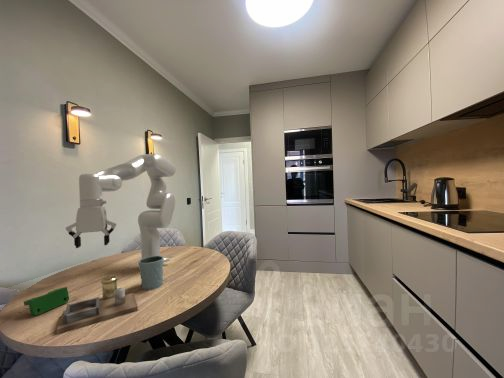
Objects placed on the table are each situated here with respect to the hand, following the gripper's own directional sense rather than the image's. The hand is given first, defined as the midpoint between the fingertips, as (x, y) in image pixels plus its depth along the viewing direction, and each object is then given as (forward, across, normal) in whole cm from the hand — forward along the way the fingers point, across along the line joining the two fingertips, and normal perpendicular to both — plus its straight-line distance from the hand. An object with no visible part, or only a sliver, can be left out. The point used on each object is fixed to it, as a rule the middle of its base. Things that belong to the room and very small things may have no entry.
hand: (92, 245), depth 92 cm
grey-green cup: (+21, -22, -2) cm, 30 cm away
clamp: (+21, +14, +3) cm, 26 cm away
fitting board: (+21, -6, +15) cm, 27 cm away
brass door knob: (+21, -6, +4) cm, 22 cm away
